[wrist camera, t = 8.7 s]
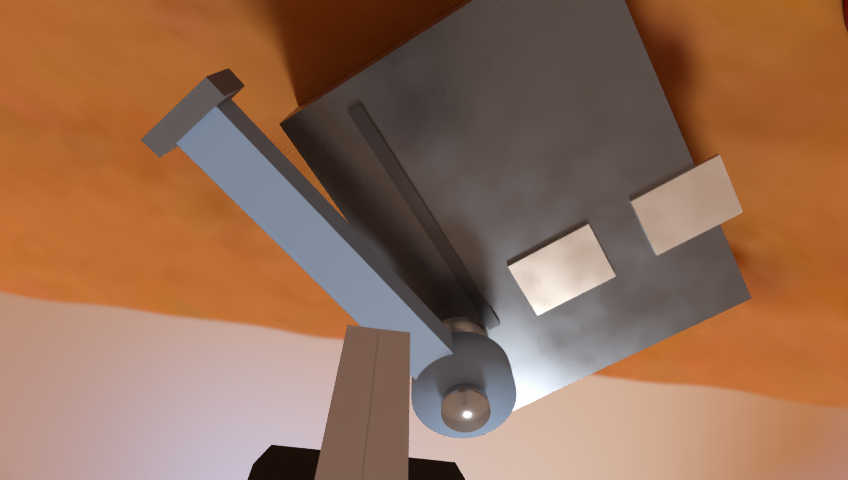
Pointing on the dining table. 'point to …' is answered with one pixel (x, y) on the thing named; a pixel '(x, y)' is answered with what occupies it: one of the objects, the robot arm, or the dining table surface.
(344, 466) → the robot arm
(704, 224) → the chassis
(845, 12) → the canned food
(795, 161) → the dining table surface
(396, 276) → the swing bar
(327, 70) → the dining table surface
